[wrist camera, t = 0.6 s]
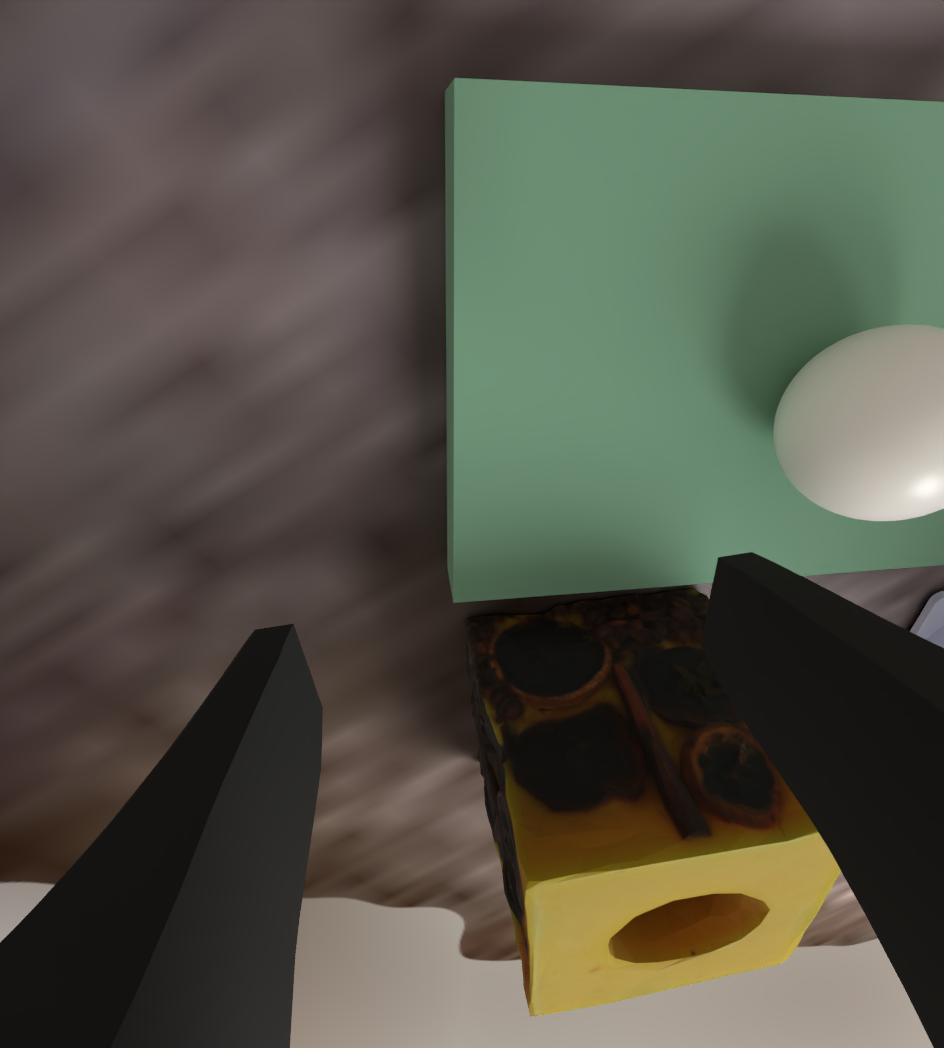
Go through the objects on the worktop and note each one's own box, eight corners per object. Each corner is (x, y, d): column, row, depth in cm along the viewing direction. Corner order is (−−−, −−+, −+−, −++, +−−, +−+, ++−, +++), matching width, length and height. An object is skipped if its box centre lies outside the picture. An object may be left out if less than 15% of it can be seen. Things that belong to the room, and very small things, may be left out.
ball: (929, 305, 15) (1136, 352, 11) (859, 466, 18) (1005, 552, 14) (766, 306, 15) (921, 356, 10) (718, 473, 17) (826, 566, 13)
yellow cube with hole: (461, 612, 22) (512, 882, 13) (702, 578, 23) (892, 812, 14) (475, 766, 27) (517, 1026, 19) (668, 734, 28) (791, 969, 20)
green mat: (1257, 128, 16) (1359, 122, 14) (1002, 530, 23) (1050, 556, 22) (444, 91, 13) (454, 78, 11) (447, 568, 20) (453, 602, 19)
